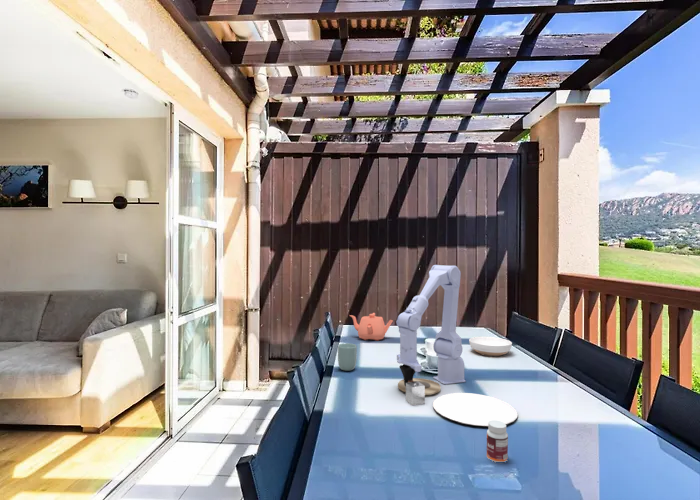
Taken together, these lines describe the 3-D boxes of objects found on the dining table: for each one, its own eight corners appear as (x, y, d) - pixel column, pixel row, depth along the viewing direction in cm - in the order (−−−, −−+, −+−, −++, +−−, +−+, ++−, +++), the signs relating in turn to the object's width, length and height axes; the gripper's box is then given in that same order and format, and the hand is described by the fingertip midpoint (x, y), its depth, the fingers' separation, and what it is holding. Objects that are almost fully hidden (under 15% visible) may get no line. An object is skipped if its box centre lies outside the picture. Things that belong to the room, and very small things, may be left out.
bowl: (515, 352, 193) (515, 339, 193) (507, 361, 176) (507, 347, 176) (475, 346, 203) (475, 334, 203) (464, 355, 187) (464, 342, 187)
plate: (473, 438, 104) (473, 432, 104) (416, 405, 127) (416, 399, 127) (536, 420, 116) (536, 414, 116) (473, 392, 138) (473, 387, 138)
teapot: (348, 337, 221) (348, 313, 221) (373, 333, 232) (374, 310, 232) (368, 344, 206) (369, 318, 206) (394, 339, 217) (394, 314, 217)
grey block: (417, 399, 131) (417, 380, 131) (424, 404, 127) (424, 384, 127) (405, 400, 129) (405, 381, 129) (412, 406, 125) (412, 386, 125)
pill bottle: (483, 454, 96) (483, 419, 96) (501, 453, 96) (502, 419, 96) (491, 464, 91) (492, 428, 91) (511, 463, 92) (511, 428, 92)
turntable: (410, 377, 150) (410, 367, 150) (447, 386, 141) (447, 375, 141) (389, 388, 139) (389, 377, 139) (428, 398, 129) (428, 387, 129)
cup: (354, 373, 158) (354, 348, 158) (335, 371, 160) (336, 347, 160) (358, 367, 166) (358, 343, 166) (340, 366, 167) (340, 342, 167)
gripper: (389, 343, 142) (389, 380, 142) (407, 353, 128) (407, 395, 128) (406, 341, 144) (406, 378, 144) (426, 351, 130) (426, 392, 131)
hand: (408, 386), depth 136 cm, fingers closed, pressing on turntable
